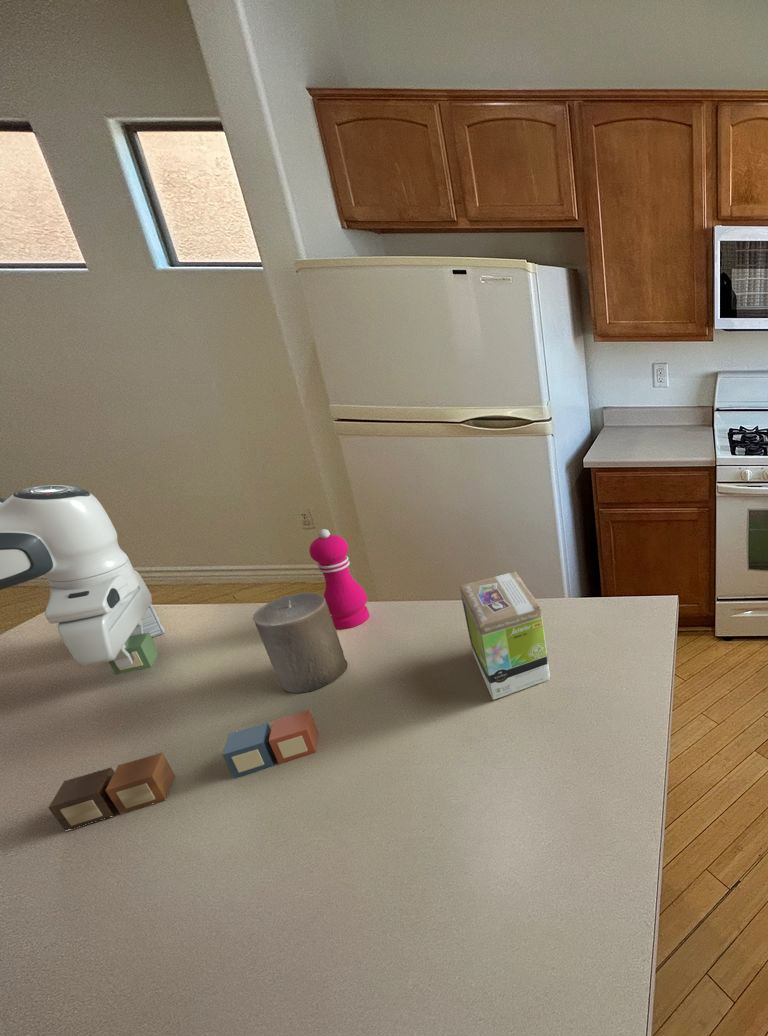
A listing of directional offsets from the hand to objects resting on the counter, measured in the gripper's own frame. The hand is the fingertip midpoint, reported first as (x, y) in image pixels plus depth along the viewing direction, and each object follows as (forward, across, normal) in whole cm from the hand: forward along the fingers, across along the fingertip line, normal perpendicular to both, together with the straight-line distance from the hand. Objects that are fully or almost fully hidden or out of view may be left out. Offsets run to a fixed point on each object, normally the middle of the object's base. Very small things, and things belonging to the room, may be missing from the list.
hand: (133, 654), depth 93 cm
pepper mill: (+4, -2, +30) cm, 31 cm away
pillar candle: (+4, +14, +25) cm, 29 cm away
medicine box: (+4, -14, -4) cm, 15 cm away
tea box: (+4, +28, +55) cm, 62 cm away
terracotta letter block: (+4, +32, +25) cm, 41 cm away
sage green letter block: (+2, 0, 0) cm, 2 cm away
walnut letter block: (+4, +32, +3) cm, 32 cm away
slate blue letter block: (+4, +32, +20) cm, 38 cm away
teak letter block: (+4, +32, +8) cm, 33 cm away
